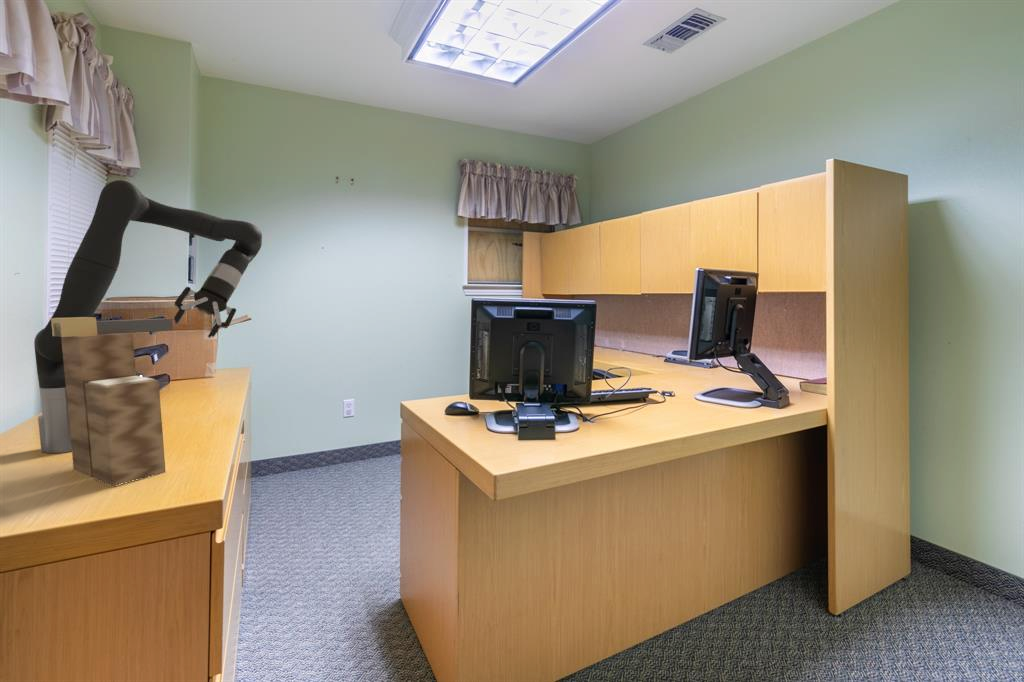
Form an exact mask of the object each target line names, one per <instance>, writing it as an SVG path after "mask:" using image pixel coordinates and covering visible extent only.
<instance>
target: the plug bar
mask: <svg viewBox="0 0 1024 682" xmlns="http://www.w3.org/2000/svg"><path fill="white" fill-rule="evenodd" d="M50 319H51V323H52V334H53V336H58V337H72V336H89V335H102V334H119V333H133V334H135V333H150V332H151V333H152V332H153V333H154V332H167V331H169V332H170V331H174V325H173V318H165V317H164V318H144V319H143V318H140V319H117V320H115V319H113V320H97V317H94V316H93V317H73V318H51V317H50Z"/></svg>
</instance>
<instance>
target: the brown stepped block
mask: <svg viewBox="0 0 1024 682" xmlns="http://www.w3.org/2000/svg"><path fill="white" fill-rule="evenodd" d="M61 341H62V351H63V362H64V372H65V383H66V393H67V404H68V414H69V425H70V435H71V446H72V451H71V454H72V456H71V457H72V467H73V470H74V471H75V472H78V473H80V474H83V475H84V476H87V477H89V476H90V477H89V478H93V479H94V478H95V479H94V480H96V479H97V480H96V481H98V480H100V481H99V482H101V481H102V482H101V483H103V482H104V483H103V484H105V483H106V485H107V484H109V485H108V486H110V485H111V486H110V487H112V486H115V487H117V486H116V485H119V484H121V483H125V482H129V481H132V480H136V479H140V478H143V479H146V478H145V477H147V478H149V477H148V476H150V477H153V476H152V475H154V476H157V475H160V473H161V474H164V473H166V459H165V448H164V447H165V445H164V434H163V420H162V408H161V395H160V394H161V392H160V382H159V380H157V379H155V378H152V377H147V376H146V377H147V378H146V377H141V376H136V371H137V369H136V360H135V357H136V356H135V348H134V347H135V346H134V345H135V344H134V333H119V334H102V335H89V336H72V337H61ZM156 474H157V475H156ZM140 480H141V479H140ZM136 481H137V480H136ZM129 483H130V482H129ZM119 486H120V485H119Z"/></svg>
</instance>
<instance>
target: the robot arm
mask: <svg viewBox="0 0 1024 682" xmlns="http://www.w3.org/2000/svg"><path fill="white" fill-rule="evenodd" d="M130 221H132V222H138V223H146V224H152V225H156V226H157V225H158V226H161V227H166V228H170V229H174V230H178V231H182V232H184V233H188V234H191V235H194V236H198V237H202V238H205V239H208V240H212V241H215V242H224V241H225V240H231V241H232V240H233V241H234V244H233V246H231V248H230V249H227V250H225V252H224V253H223V254H222V256H221V258H220V259H219V260H218V262H217V264H216V265H215V266H214V267H213V268H212V270H211V271H210V273H209V274H208V276H207V278H206V279H205V281H204V282H203V283H202V286H201V287H200V289H199V290H198V291H195V290H193V289H191V287H189V286H185V288H184V289H183V290H182V292H181V293H180V294H179V296H178V297H177V298H176V300H174V306H175V307H176V308H177V309H178V311H177V312H176V313H175V316H174V317H173V321H174V324H177V325H179V322H180V321H181V319H182V318H183V316H184V314H185V313H186V312H187V311H190V310H194V309H197V310H198V311H200V312H203V313H205V314H207V315H211V316H212V317H213V321H214V325H213V327H212V328H211V330H210V332H209V333H208V335H207V338H209V339H210V338H211V337H212V338H214V337H215V336H216V334H217V332H218V331H219V329H220V328H222V329H223V328H224V329H227V328H229V326H230V324H231V323H232V320H233V318H234V316H235V314H236V312H237V309H236V308H235V307H230V306H227V304H228V302H229V300H230V298H232V295H233V294H234V292H235V290H236V289H237V287H238V285H239V283H240V281H241V279H242V277H243V275H244V273H245V272H246V270H247V268H248V266H249V265H250V263H251V262H252V261H253V259H255V257H256V256H257V255H258V253H259V251H260V250H261V248H262V244H263V243H262V241H263V235H262V231H261V229H260V228H259V227H258V226H256V225H255V224H253V223H251V222H248V221H244V220H235V219H227V218H226V219H225V218H222V217H219V216H214V215H211V214H209V213H205V212H202V211H197V210H193V209H185V208H179V207H173V206H171V205H170V206H169V205H166V204H162V203H160V202H157V201H155V200H153V199H151V198H148V197H146V196H145V195H144V194H143V193H142V192H141V190H140V189H139V188H138V187H137V186H136V185H134V184H133V183H131V182H130V181H127V180H123V179H117V180H113V181H110V182H108V183H107V184H105V185H104V187H103V188H102V190H101V192H100V195H99V197H98V201H97V204H96V207H95V211H94V214H93V217H92V219H91V222H90V225H89V226H88V228H87V230H86V232H85V234H84V236H83V238H82V240H81V243H80V244H79V247H78V249H77V251H76V252H75V254H74V257H73V258H72V260H71V263H70V265H69V267H68V269H67V272H66V273H65V277H64V280H63V284H62V289H61V292H60V298H59V302H58V305H57V306H56V308H55V311H54V312H53V314H52V316H51V317H50V319H49V320H48V322H47V324H46V326H45V327H44V328H42V329H41V330H40V331H38V333H37V334H36V335H35V338H34V345H33V346H34V355H35V363H36V372H37V380H38V388H39V397H40V404H41V406H40V407H41V415H39V416H38V417H37V421H38V422H37V423H38V430H39V431H38V433H39V434H38V435H39V442H40V452H41V453H48V454H61V453H68V452H69V453H70V452H72V446H71V435H70V425H69V414H68V404H67V393H66V383H65V372H64V362H63V351H62V341H61V337H58V336H53V334H52V323H51V318H73V317H94V315H95V312H96V311H97V309H98V307H99V306H100V304H101V302H103V301H102V300H103V299H104V298H105V296H106V294H107V292H108V290H109V288H110V286H111V284H112V282H113V280H114V278H115V276H116V273H117V271H118V268H119V265H120V262H121V255H122V246H123V238H124V234H125V232H126V229H127V227H128V225H129V223H130ZM191 296H193V298H194V300H193V301H190V302H188V303H186V304H183V302H184V301H185V299H186V298H190V297H191ZM224 311H225V312H226V313H225V314H226V315H227V317H226V319H225V321H224V322H223V321H222V320H221V314H220V313H221V312H224Z"/></svg>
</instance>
